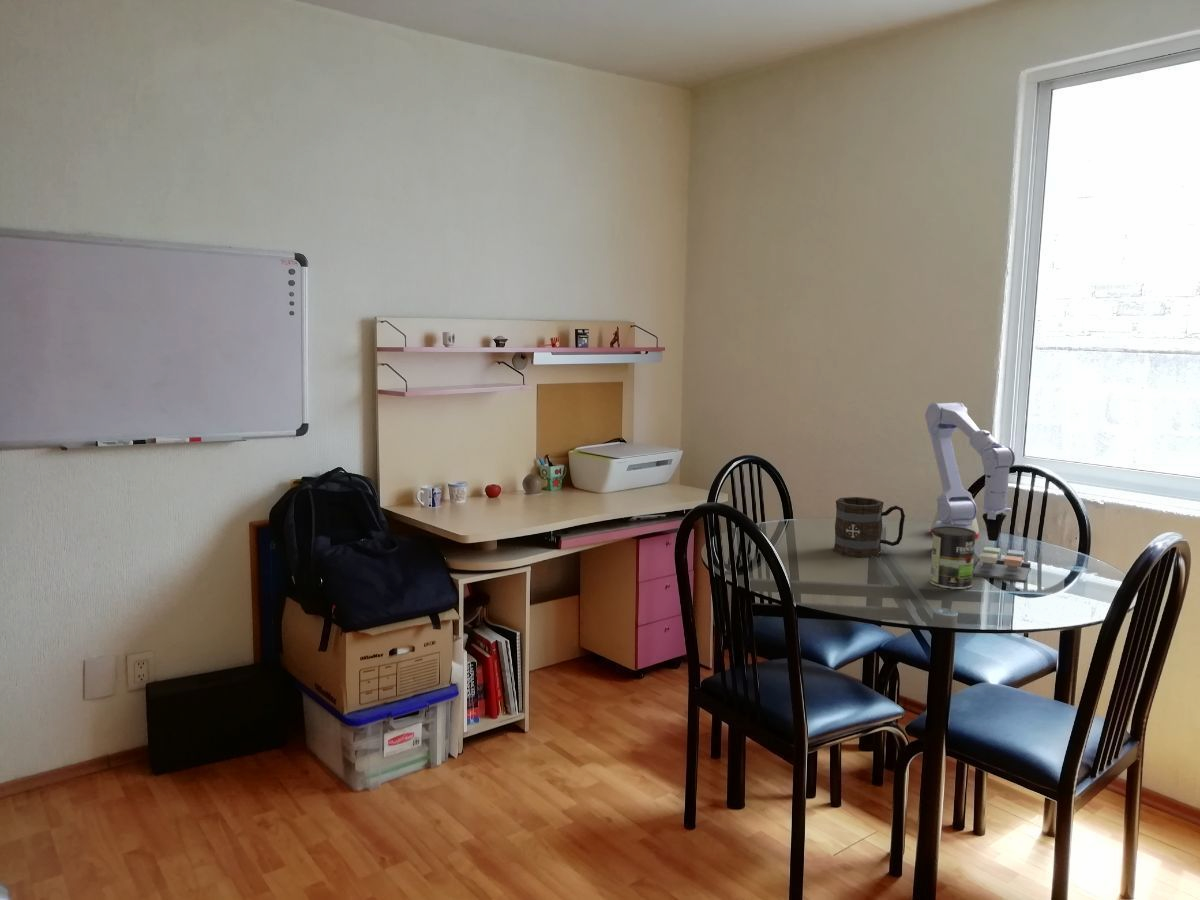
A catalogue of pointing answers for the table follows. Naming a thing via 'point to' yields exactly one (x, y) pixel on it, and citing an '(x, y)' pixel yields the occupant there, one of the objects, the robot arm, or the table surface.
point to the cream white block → (992, 550)
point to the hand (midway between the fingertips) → (992, 540)
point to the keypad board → (1002, 571)
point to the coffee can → (952, 557)
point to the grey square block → (1016, 553)
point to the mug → (861, 526)
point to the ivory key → (988, 559)
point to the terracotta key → (1012, 562)
